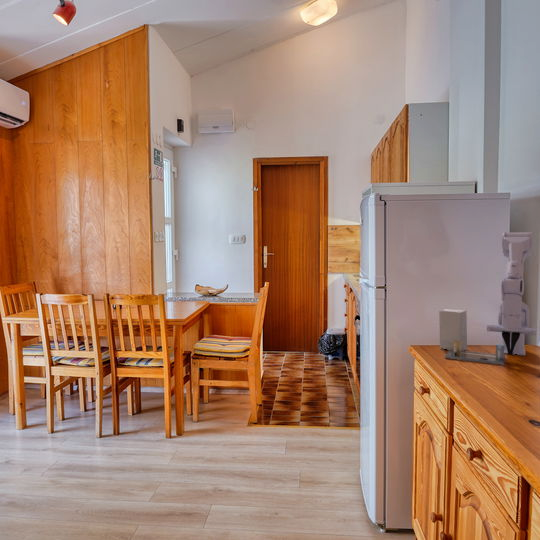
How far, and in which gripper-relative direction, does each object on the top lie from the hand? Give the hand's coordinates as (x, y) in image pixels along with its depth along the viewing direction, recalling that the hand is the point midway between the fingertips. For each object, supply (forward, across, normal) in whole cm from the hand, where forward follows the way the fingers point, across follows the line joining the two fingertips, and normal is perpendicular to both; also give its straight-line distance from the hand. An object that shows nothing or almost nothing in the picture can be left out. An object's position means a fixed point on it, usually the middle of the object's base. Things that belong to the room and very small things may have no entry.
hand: (510, 354), depth 154 cm
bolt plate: (+2, -11, -1) cm, 11 cm away
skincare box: (+3, -19, +9) cm, 21 cm away
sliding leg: (+1, -3, -2) cm, 4 cm away
